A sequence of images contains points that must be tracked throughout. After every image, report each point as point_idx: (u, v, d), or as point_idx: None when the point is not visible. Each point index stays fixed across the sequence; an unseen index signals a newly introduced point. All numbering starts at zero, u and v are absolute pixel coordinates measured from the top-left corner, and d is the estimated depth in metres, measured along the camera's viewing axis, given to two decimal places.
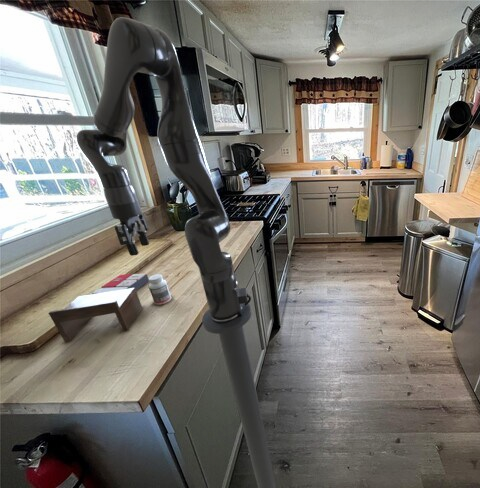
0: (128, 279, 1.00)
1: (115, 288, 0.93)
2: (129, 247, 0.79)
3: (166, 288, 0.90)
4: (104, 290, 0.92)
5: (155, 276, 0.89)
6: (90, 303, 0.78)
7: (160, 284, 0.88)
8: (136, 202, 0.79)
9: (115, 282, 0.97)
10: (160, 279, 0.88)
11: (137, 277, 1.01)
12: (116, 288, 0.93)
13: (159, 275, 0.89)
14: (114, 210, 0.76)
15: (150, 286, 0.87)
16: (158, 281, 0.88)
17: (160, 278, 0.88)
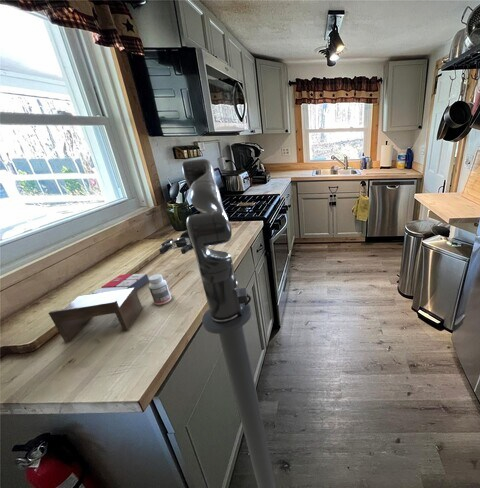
0: (128, 279, 1.00)
1: (115, 288, 0.93)
2: None
3: (166, 288, 0.90)
4: (104, 290, 0.92)
5: (155, 276, 0.89)
6: (90, 303, 0.78)
7: (160, 284, 0.88)
8: None
9: (115, 282, 0.97)
10: (160, 279, 0.88)
11: (137, 277, 1.01)
12: (116, 288, 0.93)
13: (159, 275, 0.89)
14: None
15: (150, 286, 0.87)
16: (158, 281, 0.88)
17: (160, 278, 0.88)
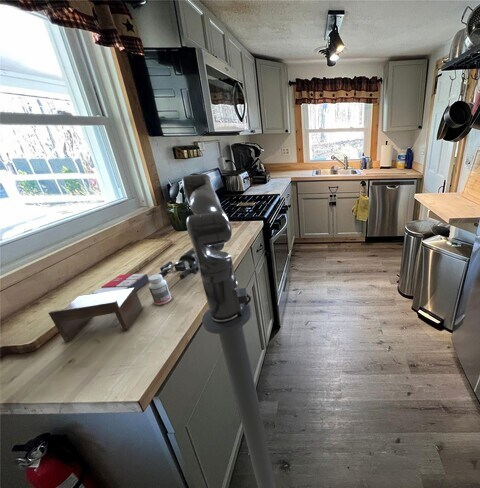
0: (128, 279, 1.00)
1: (115, 288, 0.93)
2: None
3: (166, 288, 0.90)
4: (104, 290, 0.92)
5: (155, 276, 0.89)
6: (90, 303, 0.78)
7: (160, 284, 0.88)
8: (189, 250, 1.08)
9: (115, 282, 0.97)
10: (160, 279, 0.88)
11: (137, 277, 1.01)
12: (116, 288, 0.93)
13: (159, 275, 0.89)
14: None
15: (150, 286, 0.87)
16: (158, 281, 0.88)
17: (160, 278, 0.88)
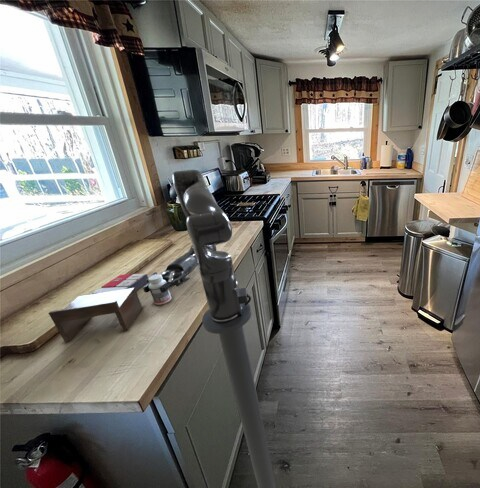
0: (128, 279, 1.00)
1: (115, 288, 0.93)
2: None
3: None
4: (104, 290, 0.92)
5: (155, 276, 0.89)
6: (90, 303, 0.78)
7: (160, 284, 0.88)
8: (177, 259, 1.01)
9: (115, 282, 0.97)
10: (160, 279, 0.88)
11: (137, 277, 1.01)
12: (116, 288, 0.93)
13: (159, 275, 0.89)
14: None
15: (150, 286, 0.87)
16: (158, 281, 0.88)
17: (160, 278, 0.88)
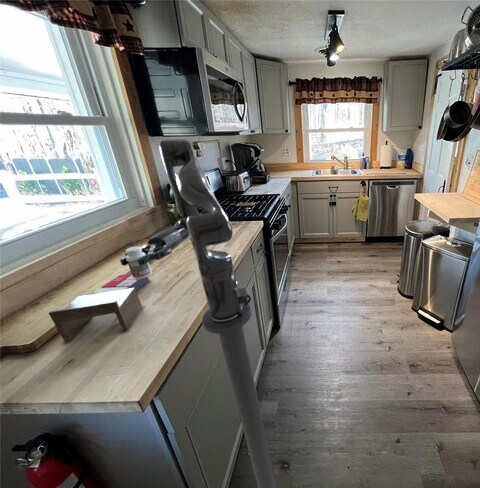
0: (128, 279, 1.00)
1: (115, 288, 0.93)
2: None
3: None
4: (104, 290, 0.92)
5: (133, 247, 0.82)
6: (90, 303, 0.78)
7: (138, 256, 0.81)
8: (160, 233, 0.94)
9: (115, 282, 0.97)
10: (138, 251, 0.82)
11: None
12: (116, 288, 0.93)
13: (138, 247, 0.83)
14: None
15: (127, 258, 0.81)
16: (137, 253, 0.81)
17: (138, 250, 0.82)
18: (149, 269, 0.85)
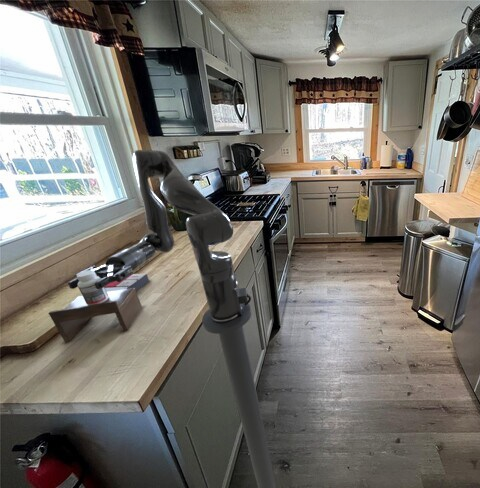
0: (128, 279, 1.00)
1: (115, 288, 0.93)
2: None
3: None
4: None
5: (86, 272, 0.76)
6: None
7: (91, 282, 0.75)
8: (120, 252, 0.87)
9: (115, 282, 0.97)
10: (91, 276, 0.75)
11: (137, 277, 1.01)
12: (116, 288, 0.93)
13: (91, 271, 0.76)
14: None
15: (79, 284, 0.74)
16: (89, 278, 0.75)
17: (91, 275, 0.75)
18: (104, 294, 0.78)
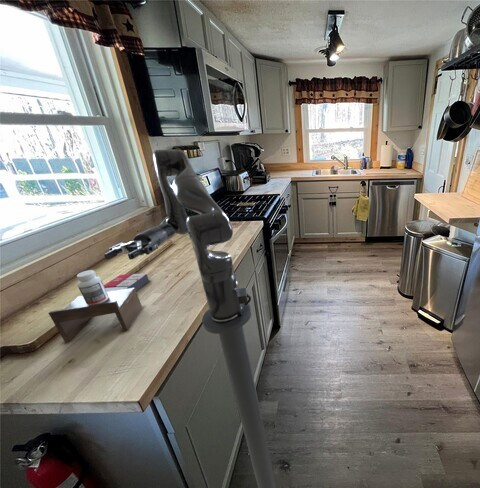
0: (128, 279, 1.00)
1: (115, 288, 0.93)
2: None
3: (100, 286, 0.77)
4: None
5: (86, 272, 0.76)
6: None
7: (91, 282, 0.75)
8: (146, 230, 0.98)
9: (115, 282, 0.97)
10: (91, 276, 0.75)
11: (137, 277, 1.01)
12: (116, 288, 0.93)
13: (91, 271, 0.76)
14: None
15: (79, 284, 0.74)
16: (89, 278, 0.75)
17: (91, 275, 0.75)
18: (104, 294, 0.78)
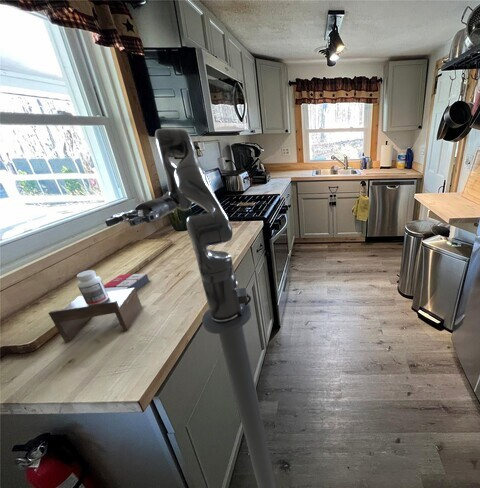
0: (128, 279, 1.00)
1: (115, 288, 0.93)
2: None
3: (100, 286, 0.77)
4: None
5: (86, 272, 0.76)
6: None
7: (91, 282, 0.75)
8: (147, 201, 0.98)
9: (115, 282, 0.97)
10: (91, 276, 0.75)
11: (137, 277, 1.01)
12: (116, 288, 0.93)
13: (91, 271, 0.76)
14: None
15: (79, 284, 0.74)
16: (89, 278, 0.75)
17: (91, 275, 0.75)
18: (104, 294, 0.78)
